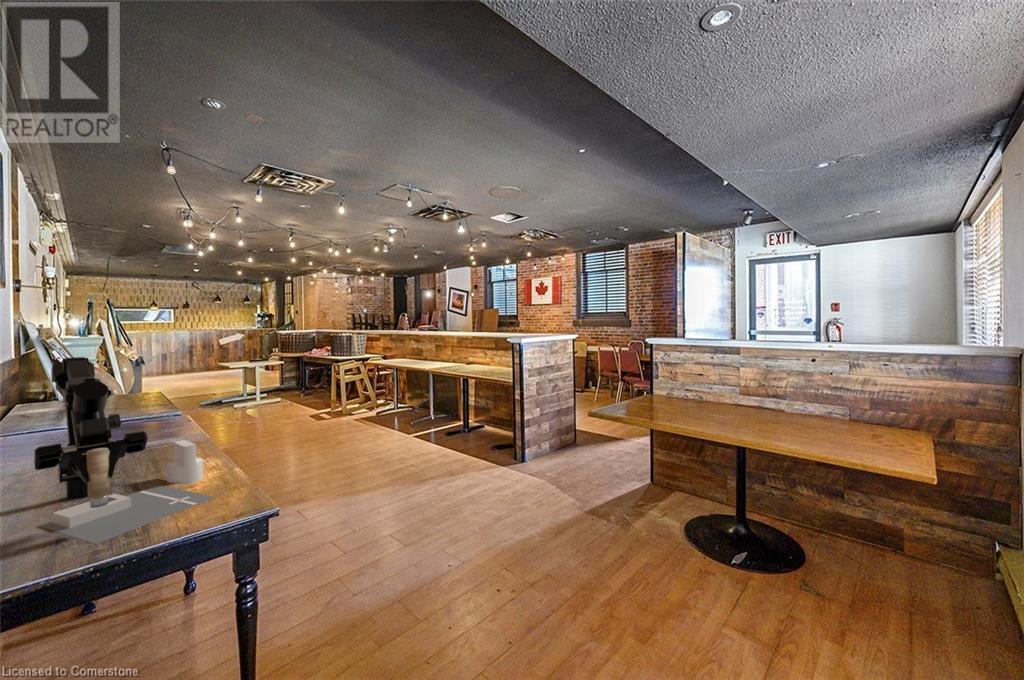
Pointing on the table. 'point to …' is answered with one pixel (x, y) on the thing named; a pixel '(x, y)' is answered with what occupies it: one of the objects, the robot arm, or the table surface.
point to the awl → (98, 476)
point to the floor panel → (133, 514)
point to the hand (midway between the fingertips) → (99, 479)
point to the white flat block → (90, 511)
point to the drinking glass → (184, 464)
